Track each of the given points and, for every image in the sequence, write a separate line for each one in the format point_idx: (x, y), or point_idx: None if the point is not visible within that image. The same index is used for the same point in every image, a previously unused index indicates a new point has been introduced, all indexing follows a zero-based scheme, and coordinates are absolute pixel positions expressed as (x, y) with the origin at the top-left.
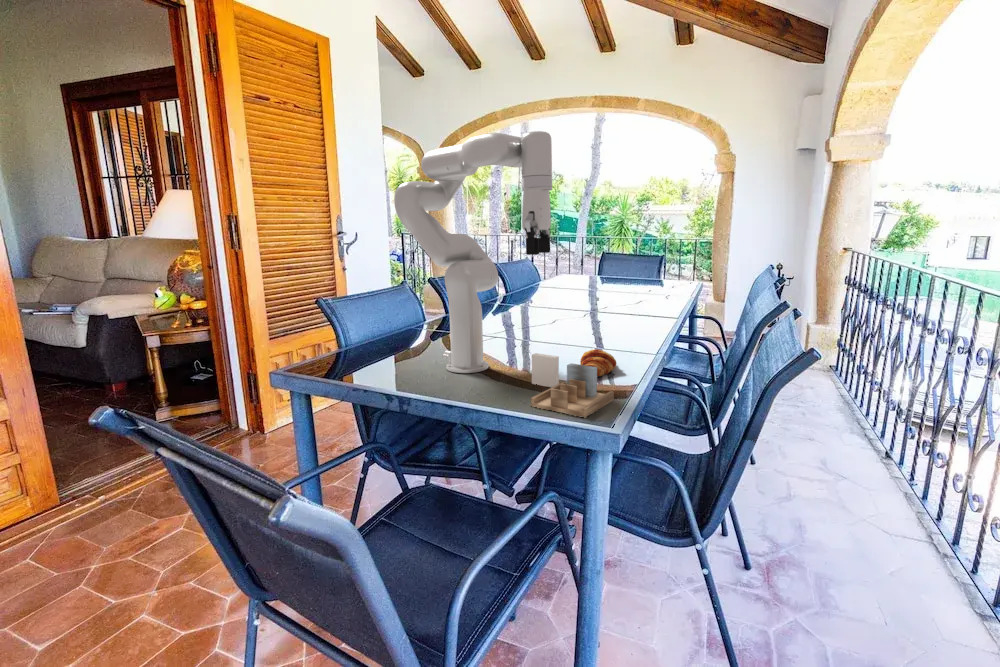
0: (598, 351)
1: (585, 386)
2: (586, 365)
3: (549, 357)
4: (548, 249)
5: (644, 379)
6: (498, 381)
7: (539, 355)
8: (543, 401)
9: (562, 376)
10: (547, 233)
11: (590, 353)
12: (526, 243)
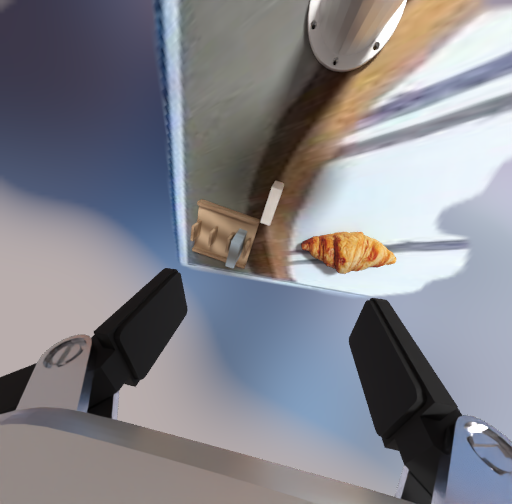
0: (341, 262)
1: (228, 250)
2: (312, 245)
3: (262, 215)
4: (353, 351)
5: (312, 288)
6: (275, 127)
7: (269, 199)
8: (207, 211)
9: (313, 211)
10: (400, 489)
11: (338, 252)
12: (125, 306)
